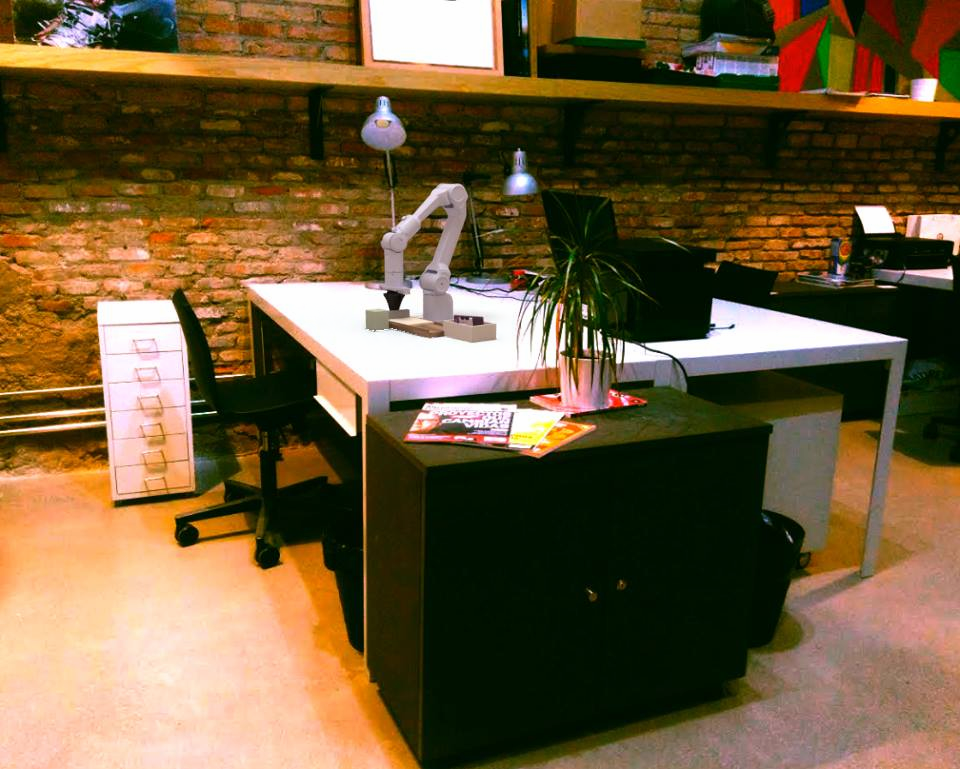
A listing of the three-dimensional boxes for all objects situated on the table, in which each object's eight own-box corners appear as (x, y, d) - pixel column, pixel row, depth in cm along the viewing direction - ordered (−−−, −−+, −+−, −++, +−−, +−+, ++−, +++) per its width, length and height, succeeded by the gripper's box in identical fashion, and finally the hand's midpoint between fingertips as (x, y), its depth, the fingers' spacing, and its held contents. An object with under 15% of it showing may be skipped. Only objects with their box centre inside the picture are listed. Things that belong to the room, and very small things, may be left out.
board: (406, 322, 274) (406, 315, 273) (459, 334, 254) (459, 326, 253) (377, 325, 267) (377, 318, 266) (429, 338, 247) (429, 330, 246)
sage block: (379, 327, 263) (379, 308, 262) (388, 330, 260) (388, 310, 258) (365, 329, 260) (365, 309, 259) (374, 331, 256) (374, 311, 255)
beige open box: (467, 332, 256) (467, 317, 255) (496, 339, 247) (496, 323, 246) (442, 335, 251) (442, 320, 250) (471, 342, 241) (471, 326, 240)
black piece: (484, 315, 247) (454, 313, 249) (478, 323, 243) (448, 321, 245) (486, 335, 250) (457, 333, 253) (480, 344, 246) (451, 342, 249)
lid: (409, 318, 271) (409, 308, 270) (434, 324, 261) (434, 313, 261) (383, 321, 265) (383, 311, 264) (407, 327, 255) (407, 316, 254)
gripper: (370, 270, 268) (371, 313, 271) (396, 274, 257) (397, 319, 261) (389, 269, 273) (389, 311, 276) (415, 273, 262) (415, 317, 265)
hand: (394, 315), depth 268 cm, fingers closed
